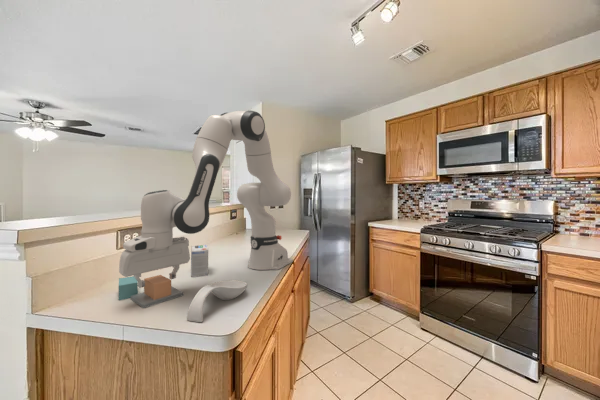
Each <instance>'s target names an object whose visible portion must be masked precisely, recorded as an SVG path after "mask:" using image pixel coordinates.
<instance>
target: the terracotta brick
mask: <svg viewBox="0 0 600 400" xmlns="http://www.w3.org/2000/svg"><path fill="white" fill-rule="evenodd" d="M143 280H144V281H145V287H143V292H144V293H145V294H146V295H148V296H149V297H151V298H152V299H154V300H156V299H159V298H162V297H166V296H169V295H171V286H172V279H170V278H168V277H166V276H163V275H162V274H158V275H155V276H153V275H152V276H150V277H147V278H146V277H145V278H144V279H143Z"/></svg>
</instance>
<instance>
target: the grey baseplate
mask: <svg viewBox="0 0 600 400" xmlns="http://www.w3.org/2000/svg"><path fill="white" fill-rule="evenodd" d="M184 293H185V292H184V291H182V290H180V289H178V288H176V287H174V286H172V285H171V295H169V296H166V297H162V298H159V299H156V300H154V299H152V298H151V297H149V296H148V295H146V294H145V293H144V291H143V292H140V293H138V294H136V295H132V296H130V298H129V299H130V300H131V301H132V302H134V303H135V304H136V305H138V306H139V307H141V309H145V308H148V307H151V306H154V305H158V304H160V303H164V302H166V301H170V300H173V299H176V298H179V297H182V296H184Z"/></svg>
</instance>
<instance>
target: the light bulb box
mask: <svg viewBox="0 0 600 400" xmlns="http://www.w3.org/2000/svg"><path fill="white" fill-rule="evenodd" d="M190 247H191V251H190V252H191V254H190V277H191V278H196V277H197V278H198V277H204V276H205V277H206V276H209V247H208V244H203V245H202V244H201V245H199V244H198V245H191V246H190Z"/></svg>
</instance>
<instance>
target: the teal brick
mask: <svg viewBox="0 0 600 400" xmlns="http://www.w3.org/2000/svg"><path fill="white" fill-rule="evenodd" d="M138 290H139V287H138V281H137V280H136V279H135V278H134V275H133V276H128V277H121V278H118V301H123V300H128V299H130V296H132V295H136V294H139V291H138Z"/></svg>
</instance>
